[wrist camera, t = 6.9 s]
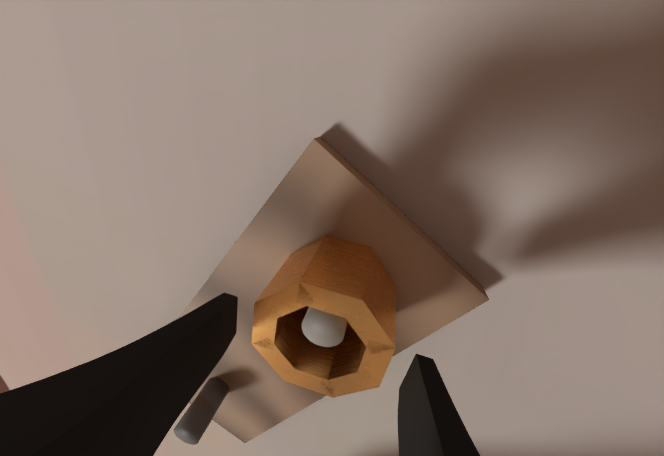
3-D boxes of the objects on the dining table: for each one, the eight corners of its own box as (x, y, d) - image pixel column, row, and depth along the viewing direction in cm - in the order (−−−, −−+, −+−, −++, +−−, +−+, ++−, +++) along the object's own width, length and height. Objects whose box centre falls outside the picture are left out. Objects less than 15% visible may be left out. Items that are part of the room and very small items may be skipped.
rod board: (250, 430, 24) (220, 495, 20) (151, 358, 23) (98, 411, 18) (482, 287, 13) (521, 363, 9) (319, 136, 12) (281, 148, 8)
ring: (405, 256, 12) (410, 314, 9) (375, 338, 15) (369, 410, 11) (294, 226, 13) (256, 268, 9) (283, 309, 15) (249, 368, 12)
